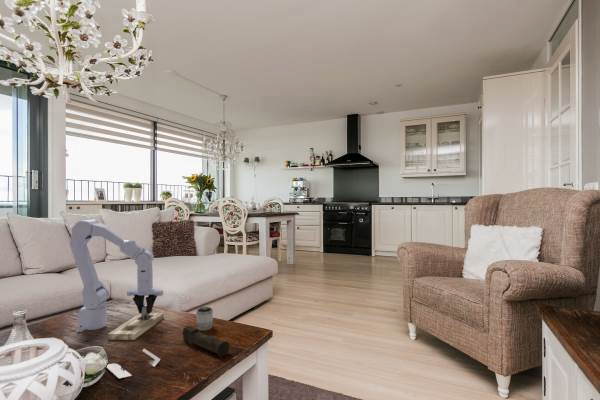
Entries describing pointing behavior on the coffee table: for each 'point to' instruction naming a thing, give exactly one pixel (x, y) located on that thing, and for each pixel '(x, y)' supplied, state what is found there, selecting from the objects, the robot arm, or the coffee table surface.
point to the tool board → (135, 327)
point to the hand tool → (205, 341)
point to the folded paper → (121, 371)
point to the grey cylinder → (144, 313)
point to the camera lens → (204, 318)
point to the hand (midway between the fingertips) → (145, 312)
